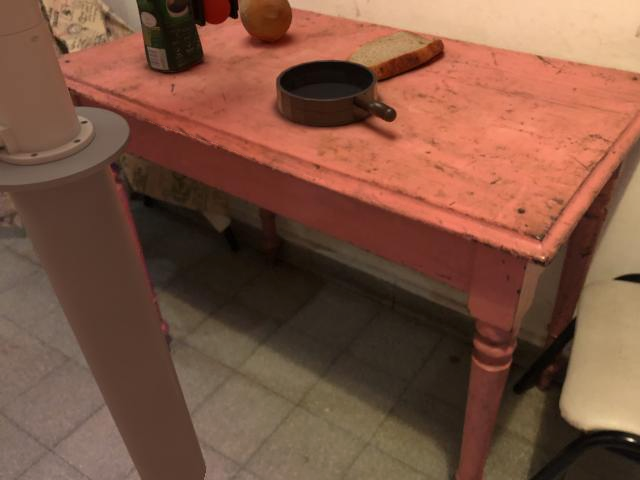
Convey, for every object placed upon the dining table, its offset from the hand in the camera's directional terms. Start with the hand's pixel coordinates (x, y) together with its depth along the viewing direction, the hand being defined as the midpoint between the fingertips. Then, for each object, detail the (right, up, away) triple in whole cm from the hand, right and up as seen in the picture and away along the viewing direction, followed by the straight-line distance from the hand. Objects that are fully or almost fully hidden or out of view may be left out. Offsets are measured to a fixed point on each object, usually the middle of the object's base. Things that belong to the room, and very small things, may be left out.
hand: (215, 19), depth 90 cm
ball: (0, +1, -1) cm, 2 cm away
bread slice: (+29, -2, +14) cm, 32 cm away
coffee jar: (-10, -2, +15) cm, 19 cm away
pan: (+17, -12, +2) cm, 21 cm away
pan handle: (+24, -16, -6) cm, 30 cm away
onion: (+5, +6, +24) cm, 25 cm away
